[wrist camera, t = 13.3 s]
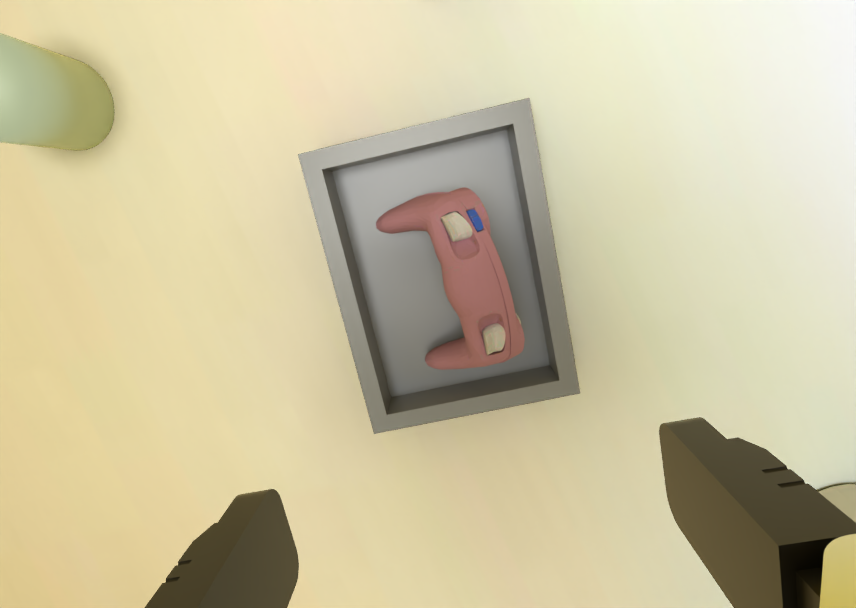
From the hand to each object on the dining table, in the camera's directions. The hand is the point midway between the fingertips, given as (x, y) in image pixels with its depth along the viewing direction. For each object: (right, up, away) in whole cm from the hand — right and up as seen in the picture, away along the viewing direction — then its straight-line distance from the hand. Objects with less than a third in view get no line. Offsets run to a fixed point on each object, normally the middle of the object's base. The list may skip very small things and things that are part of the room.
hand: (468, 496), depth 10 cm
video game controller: (0, +6, +19) cm, 20 cm away
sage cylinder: (-21, +15, +19) cm, 32 cm away
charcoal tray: (0, +6, +20) cm, 21 cm away
